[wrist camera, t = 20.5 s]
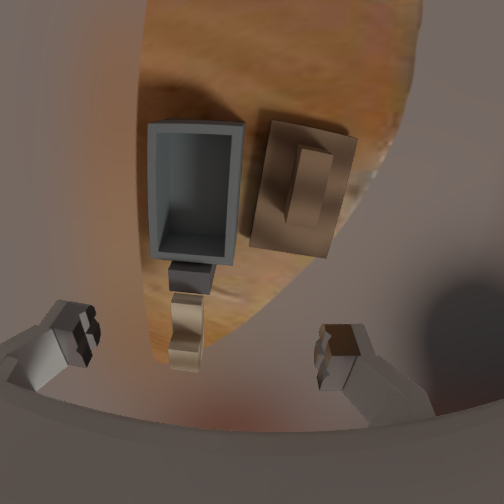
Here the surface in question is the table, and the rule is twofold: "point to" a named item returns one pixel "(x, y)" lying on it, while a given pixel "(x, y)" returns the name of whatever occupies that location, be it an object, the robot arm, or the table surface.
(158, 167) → the toolbox
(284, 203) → the toolbox lid
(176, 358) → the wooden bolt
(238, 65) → the table surface
